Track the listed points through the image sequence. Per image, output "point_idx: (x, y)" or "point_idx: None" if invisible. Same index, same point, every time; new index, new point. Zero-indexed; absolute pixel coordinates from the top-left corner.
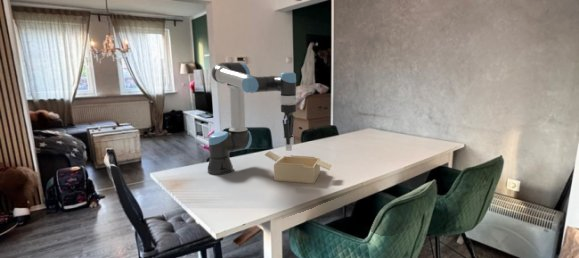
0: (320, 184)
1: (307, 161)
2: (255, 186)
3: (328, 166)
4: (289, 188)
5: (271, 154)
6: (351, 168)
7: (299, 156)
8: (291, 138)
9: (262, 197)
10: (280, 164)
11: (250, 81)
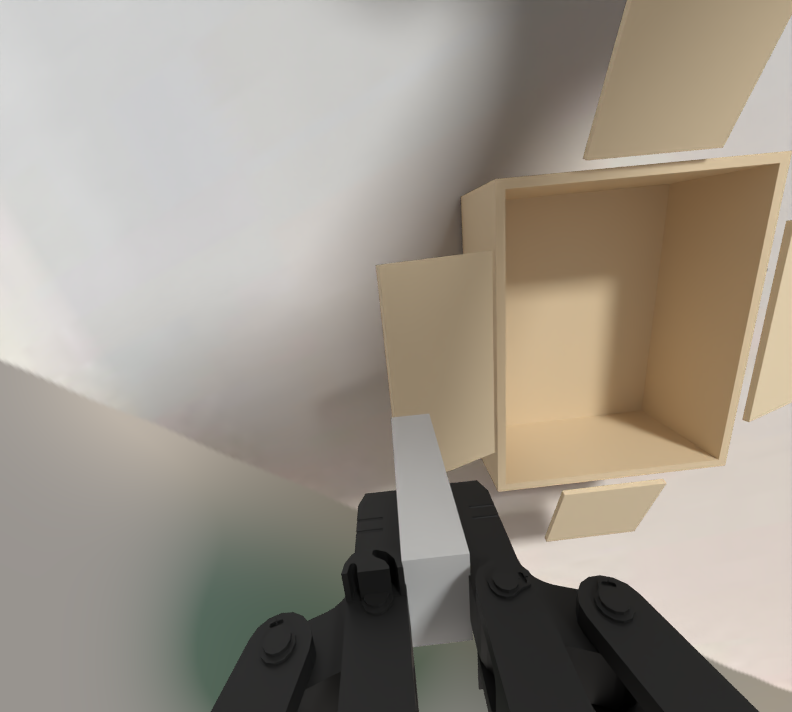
0: (474, 461)
1: (708, 369)
2: (321, 112)
3: (591, 529)
4: (369, 339)
5: (714, 39)
6: (741, 528)
7: (768, 308)
8: (456, 625)
9: (184, 249)
10: (452, 268)
11: None
